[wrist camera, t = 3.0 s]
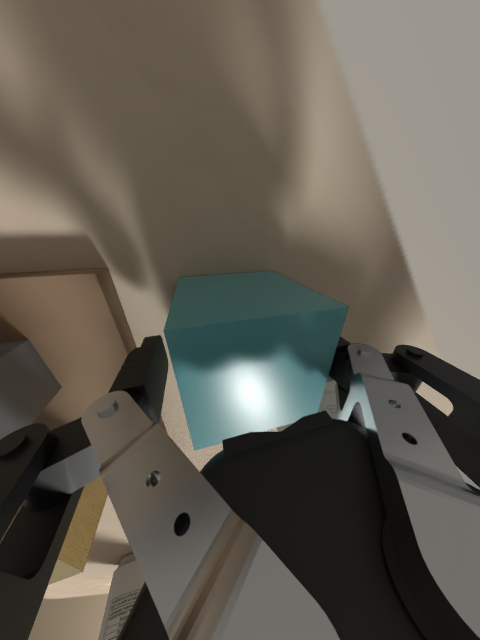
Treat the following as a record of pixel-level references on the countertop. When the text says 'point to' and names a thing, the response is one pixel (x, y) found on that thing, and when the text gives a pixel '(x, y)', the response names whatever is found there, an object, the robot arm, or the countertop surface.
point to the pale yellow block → (80, 531)
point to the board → (58, 345)
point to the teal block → (249, 351)
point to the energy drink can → (121, 597)
